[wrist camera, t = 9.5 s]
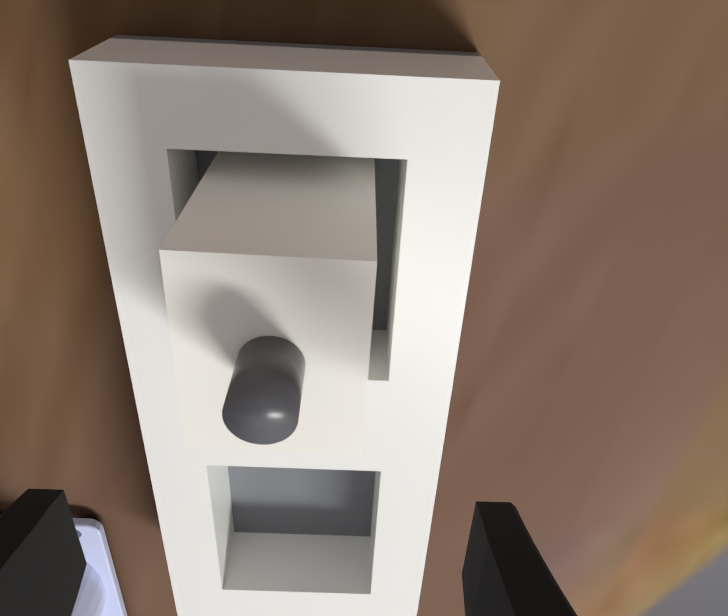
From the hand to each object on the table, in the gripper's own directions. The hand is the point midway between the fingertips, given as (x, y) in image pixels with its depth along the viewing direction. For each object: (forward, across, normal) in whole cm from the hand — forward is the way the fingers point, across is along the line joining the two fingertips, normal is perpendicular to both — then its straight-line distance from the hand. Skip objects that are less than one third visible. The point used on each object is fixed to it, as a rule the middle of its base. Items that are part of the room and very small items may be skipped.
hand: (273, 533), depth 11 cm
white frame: (+10, 0, +3) cm, 10 cm away
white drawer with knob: (+9, 0, -2) cm, 9 cm away
